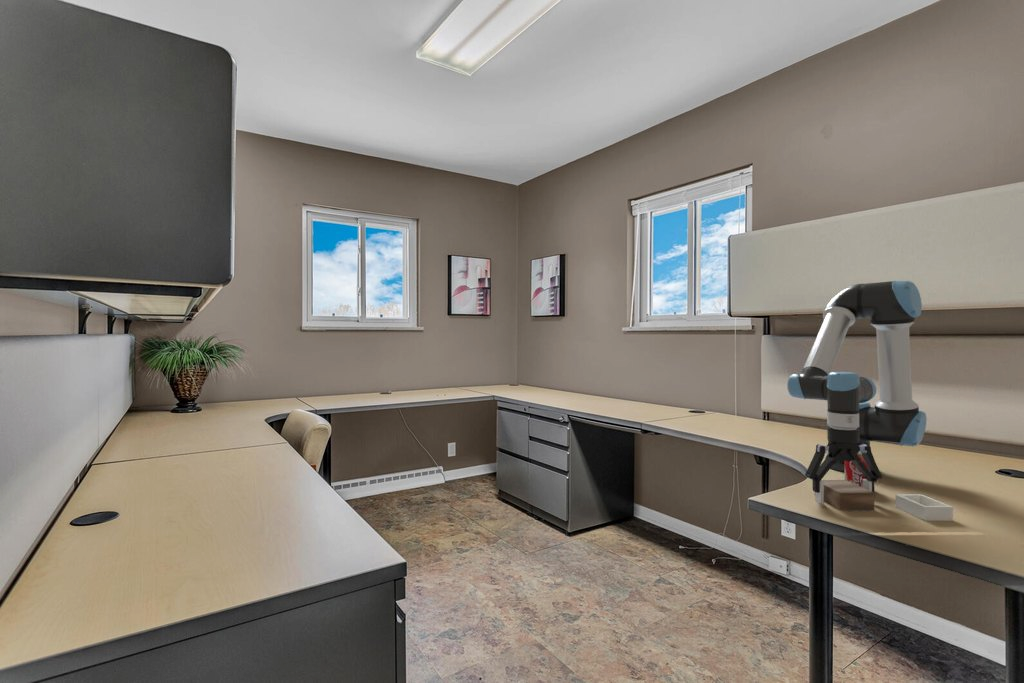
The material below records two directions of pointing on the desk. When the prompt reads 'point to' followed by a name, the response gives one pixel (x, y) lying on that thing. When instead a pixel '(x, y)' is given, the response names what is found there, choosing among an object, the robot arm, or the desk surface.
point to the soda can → (855, 471)
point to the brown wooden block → (847, 495)
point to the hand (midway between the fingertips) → (843, 503)
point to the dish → (924, 507)
